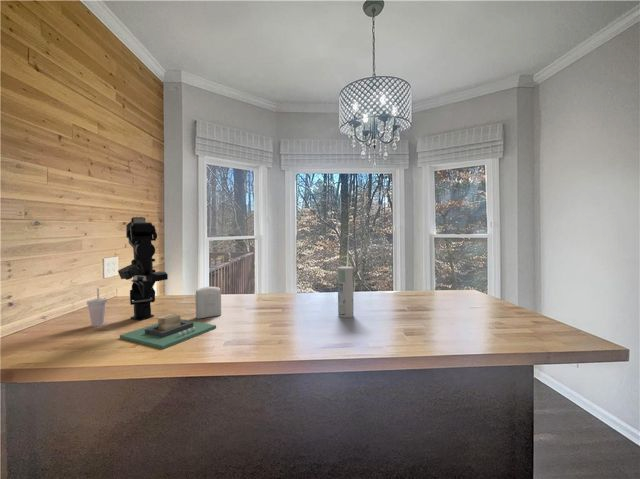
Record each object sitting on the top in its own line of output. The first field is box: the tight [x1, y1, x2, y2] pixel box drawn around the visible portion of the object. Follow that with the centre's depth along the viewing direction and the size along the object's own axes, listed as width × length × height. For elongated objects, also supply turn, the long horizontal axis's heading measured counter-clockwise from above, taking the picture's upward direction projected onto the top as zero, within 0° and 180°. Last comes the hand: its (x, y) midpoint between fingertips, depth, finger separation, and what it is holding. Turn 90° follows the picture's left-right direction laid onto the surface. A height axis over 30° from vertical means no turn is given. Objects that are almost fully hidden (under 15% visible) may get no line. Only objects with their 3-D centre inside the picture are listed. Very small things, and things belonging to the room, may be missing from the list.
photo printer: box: [195, 286, 222, 320], centre depth 134 cm, size 10×4×12 cm, turn 123°
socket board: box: [119, 318, 217, 350], centre depth 114 cm, size 22×22×2 cm
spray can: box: [337, 265, 355, 319], centre depth 132 cm, size 6×6×20 cm
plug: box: [157, 312, 181, 331], centre depth 114 cm, size 4×7×5 cm, turn 153°
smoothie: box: [86, 288, 108, 328], centre depth 123 cm, size 6×6×14 cm
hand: (145, 298), depth 119 cm, fingers closed
